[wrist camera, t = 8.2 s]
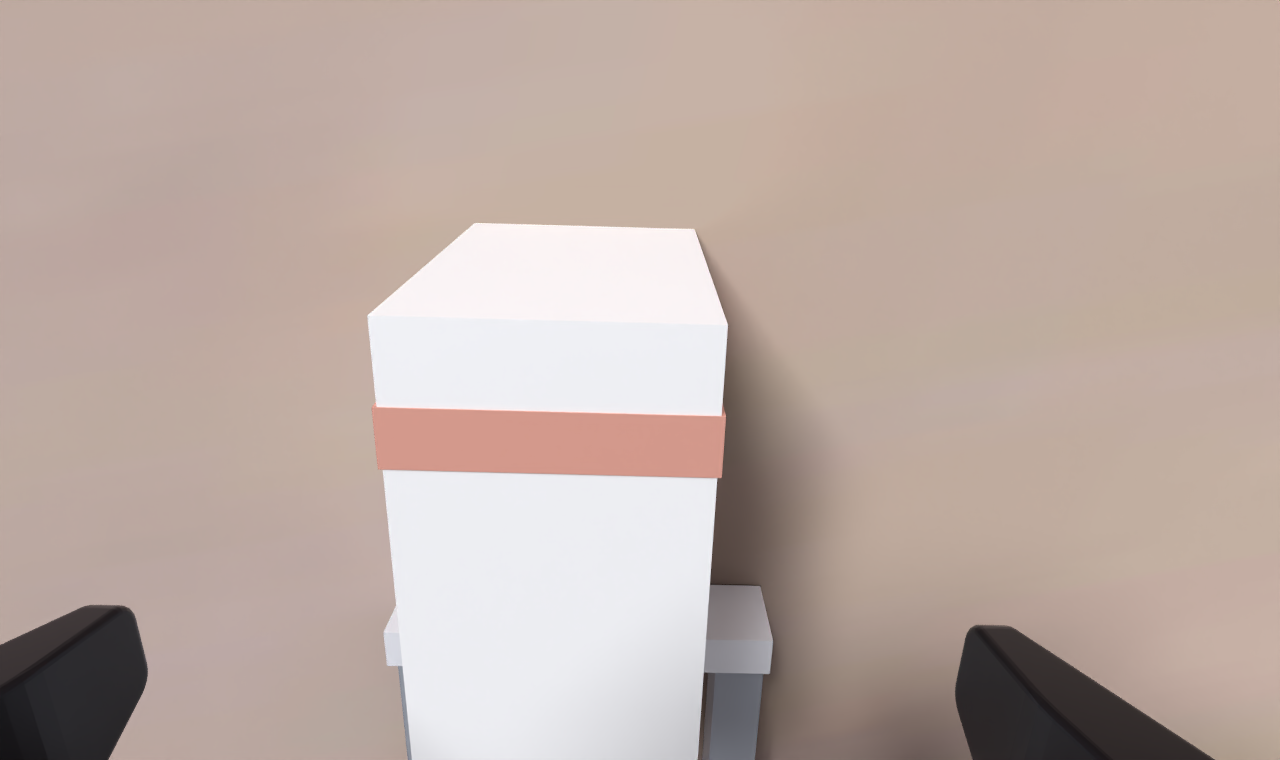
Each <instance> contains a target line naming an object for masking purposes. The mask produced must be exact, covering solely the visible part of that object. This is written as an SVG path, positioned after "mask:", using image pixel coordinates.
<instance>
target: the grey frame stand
mask: <svg viewBox="0 0 1280 760" xmlns="http://www.w3.org/2000/svg"><path fill="white" fill-rule="evenodd" d="M384 641H385V650H386V659H387V666H398V669H399V679H400V688H401V698H402V707H403V717H404V727H405V736H406V746H407V756H408V760H412V756H411V746H410V736H409V726H408V716H407V706H406V696H405V686H404V676H403V666H402V656H401V646H400V636H399V626H398V616H397V606H396V607H395V609H394V611H393V613H392V616H391V618H390V620H389V622H388V624H387V626H386V628H385V630H384ZM772 648H773V638H772V634H771V630H770V625H769V621H768V617H767V613H766V608H765V604H764V600H763V595H762V591H761V587H760V586H741V585H710V589H709V603H708V618H707V632H706V646H705V661H704V673H708V682H707V697H706V711H705V726H704V740H703V755H702V760H755V752H756V742H757V732H758V722H759V712H760V702H761V692H762V682H763V674H770V667H771V657H772Z"/></svg>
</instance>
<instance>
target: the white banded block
mask: <svg viewBox="0 0 1280 760" xmlns="http://www.w3.org/2000/svg"><path fill="white" fill-rule="evenodd" d="M367 316H368V326H369V336H370V346H371V356H372V366H373V376H374V386H375V396H376V403H375V404H374V405H373V407H372V416H373V425H374V435H375V445H376V455H377V464H378V469H383V476H384V486H385V496H386V506H387V516H388V526H389V536H390V546H391V556H392V566H393V576H394V586H395V596H396V606H397V616H398V626H399V636H400V646H401V656H402V666H403V676H404V686H405V696H406V706H407V716H408V726H409V736H410V746H411V756H412V760H698V746H699V732H700V718H701V703H702V689H703V675H704V661H705V646H706V632H707V618H708V603H709V589H710V575H711V560H712V546H713V532H714V518H715V503H716V489H717V478H722V466H723V452H724V439H725V425H726V414H725V410H724V406H723V389H724V375H725V360H726V346H727V332H728V324H727V321H726V318H725V315H724V312H723V310H722V307H721V304H720V301H719V298H718V295H717V292H716V289H715V287H714V284H713V281H712V278H711V275H710V272H709V269H708V266H707V264H706V261H705V258H704V255H703V252H702V249H701V246H700V243H699V241H698V238H697V235H696V232H695V229H673V228H637V227H601V226H565V225H529V224H493V223H474V224H473V225H472V226H471V227H470V228H468V229H467V230H466V231H465V232H464V233H463V234H462V235H460V236H459V237H458V238H457V239H456V240H455V241H453V242H452V243H451V244H450V245H449V246H448V247H446V248H445V249H444V250H443V251H442V252H441V253H439V254H438V255H437V256H436V257H435V258H434V259H432V260H431V261H430V262H429V263H428V264H427V265H425V266H424V267H423V268H422V269H421V270H420V271H419V272H417V273H416V274H415V275H414V276H413V277H412V278H410V279H409V280H408V281H407V282H406V283H405V284H403V285H402V286H401V287H400V288H399V289H398V290H396V291H395V292H394V293H393V294H392V295H391V296H389V297H388V298H387V299H386V300H385V301H384V302H383V303H381V304H380V305H379V306H378V307H377V308H376V309H374V310H373V311H372V312H371V313H370V314H369V315H367Z"/></svg>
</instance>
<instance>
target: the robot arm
mask: <svg viewBox="0 0 1280 760" xmlns="http://www.w3.org/2000/svg"><path fill="white" fill-rule="evenodd" d="M147 676H148V668H147V662H146V658H145V654H144V650H143V646H142V642H141V638H140V634H139V630H138V626H137V621H136V618H135V615H134V613H133V612H132V611H131V610H130V609H129V608H127V607H125V606H120V605H89V606H84V607H82V608H79V609H77V610H75V611H73V612H71V613H69V614H66V615H64V616H62V617H60V618H58V619H56V620H53V621H51V622H49V623H47V624H45V625H43V626H40V627H38V628H36V629H34V630H32V631H30V632H27V633H25V634H23V635H21V636H19V637H17V638H14V639H12V640H10V641H8V642H6V643H4V644H1V645H0V760H108V759H109V757H110V755H111V754H112V752H113V750H114V748H115V746H116V744H117V742H118V740H119V738H120V736H121V734H122V732H123V730H124V728H125V726H126V724H127V722H128V720H129V719H130V717H131V715H132V713H133V711H134V709H135V707H136V705H137V703H138V701H139V699H140V697H141V695H142V693H143V691H144V688H145V685H146V682H147ZM955 697H956V705H957V709H958V713H959V716H960V719H961V723H962V726H963V729H964V733H965V736H966V739H967V743H968V746H969V749H970V752H971V756H972V759H973V760H1215V759H1213V758H1212V757H1210V756H1208V755H1207V754H1205V753H1204V752H1202V751H1201V750H1199V749H1198V748H1196V747H1195V746H1193V745H1192V744H1190V743H1189V742H1187V741H1186V740H1184V739H1182V738H1181V737H1179V736H1178V735H1176V734H1175V733H1173V732H1172V731H1170V730H1169V729H1167V728H1166V727H1164V726H1163V725H1161V724H1160V723H1158V722H1156V721H1155V720H1153V719H1152V718H1150V717H1149V716H1147V715H1146V714H1144V713H1143V712H1141V711H1140V710H1138V709H1137V708H1135V707H1134V706H1132V705H1131V704H1129V703H1127V702H1126V701H1124V700H1123V699H1121V698H1120V697H1118V696H1117V695H1115V694H1114V693H1112V692H1111V691H1109V690H1108V689H1106V688H1105V687H1103V686H1101V685H1100V684H1098V683H1097V682H1095V681H1094V680H1092V679H1091V678H1089V677H1088V676H1086V675H1085V674H1083V673H1082V672H1080V671H1079V670H1077V669H1076V668H1074V667H1072V666H1071V665H1069V664H1068V663H1066V662H1065V661H1063V660H1062V659H1060V658H1059V657H1057V656H1056V655H1054V654H1053V653H1051V652H1050V651H1048V650H1046V649H1045V648H1043V647H1042V646H1040V645H1039V644H1037V643H1036V642H1034V641H1033V640H1031V639H1030V638H1028V637H1027V636H1025V635H1024V634H1022V633H1020V632H1019V631H1017V630H1016V629H1014V628H1012V627H1009V626H1002V625H975V626H973V627H972V628H970V629H969V631H968V633H967V635H966V638H965V643H964V648H963V652H962V657H961V662H960V667H959V671H958V676H957V681H956V687H955Z"/></svg>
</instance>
